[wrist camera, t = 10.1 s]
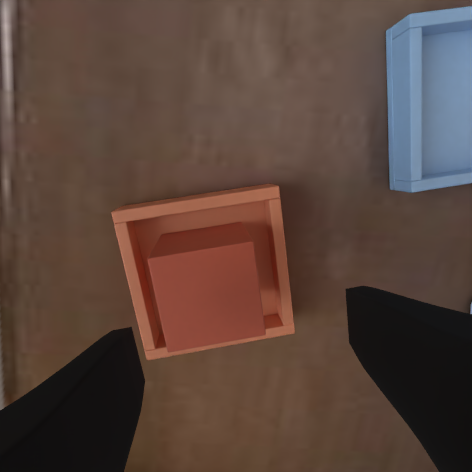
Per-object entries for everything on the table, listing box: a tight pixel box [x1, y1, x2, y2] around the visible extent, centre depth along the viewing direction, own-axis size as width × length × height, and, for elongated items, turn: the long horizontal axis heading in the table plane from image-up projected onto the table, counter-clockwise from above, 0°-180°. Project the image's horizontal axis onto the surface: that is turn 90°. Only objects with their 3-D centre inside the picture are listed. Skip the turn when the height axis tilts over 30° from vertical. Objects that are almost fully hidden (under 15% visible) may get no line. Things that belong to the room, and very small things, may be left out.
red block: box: [147, 222, 266, 353], centre depth 16 cm, size 4×4×4 cm
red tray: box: [111, 183, 295, 360], centre depth 17 cm, size 8×8×2 cm
